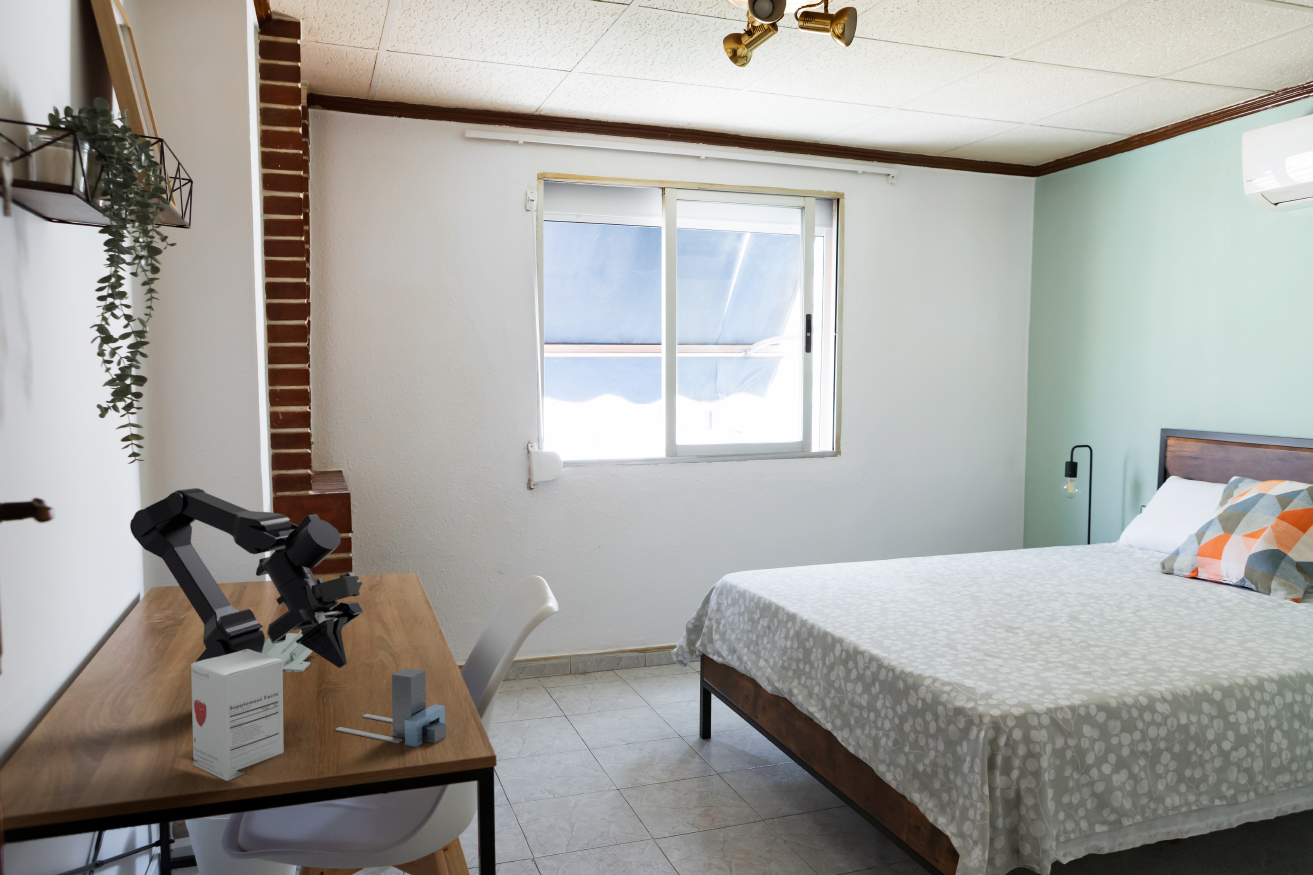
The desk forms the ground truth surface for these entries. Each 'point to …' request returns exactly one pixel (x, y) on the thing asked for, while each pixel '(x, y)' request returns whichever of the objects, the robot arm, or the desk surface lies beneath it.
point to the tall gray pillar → (412, 704)
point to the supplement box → (236, 711)
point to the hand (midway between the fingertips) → (343, 666)
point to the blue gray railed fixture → (406, 725)
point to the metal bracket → (289, 652)
